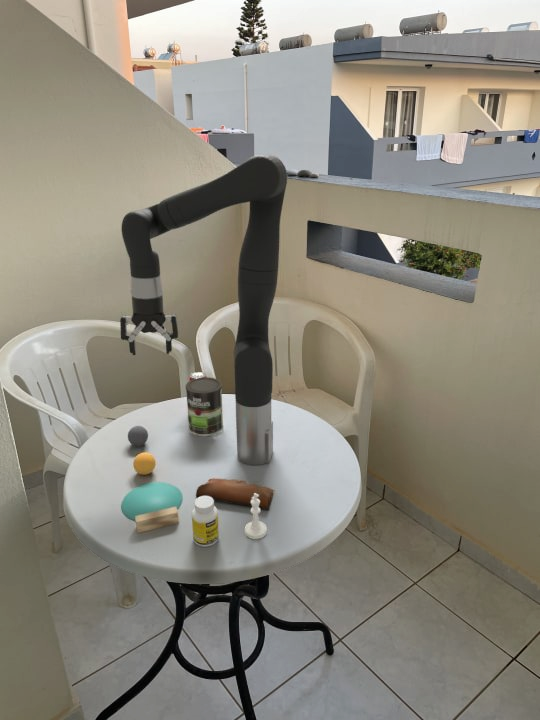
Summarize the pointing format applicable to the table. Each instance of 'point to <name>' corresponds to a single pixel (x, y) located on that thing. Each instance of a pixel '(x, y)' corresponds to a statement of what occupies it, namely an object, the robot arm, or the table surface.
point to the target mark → (151, 499)
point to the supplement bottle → (205, 522)
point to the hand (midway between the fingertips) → (151, 353)
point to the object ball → (144, 463)
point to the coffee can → (204, 406)
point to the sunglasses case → (236, 492)
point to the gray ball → (137, 435)
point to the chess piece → (255, 521)
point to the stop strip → (157, 519)
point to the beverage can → (197, 375)
